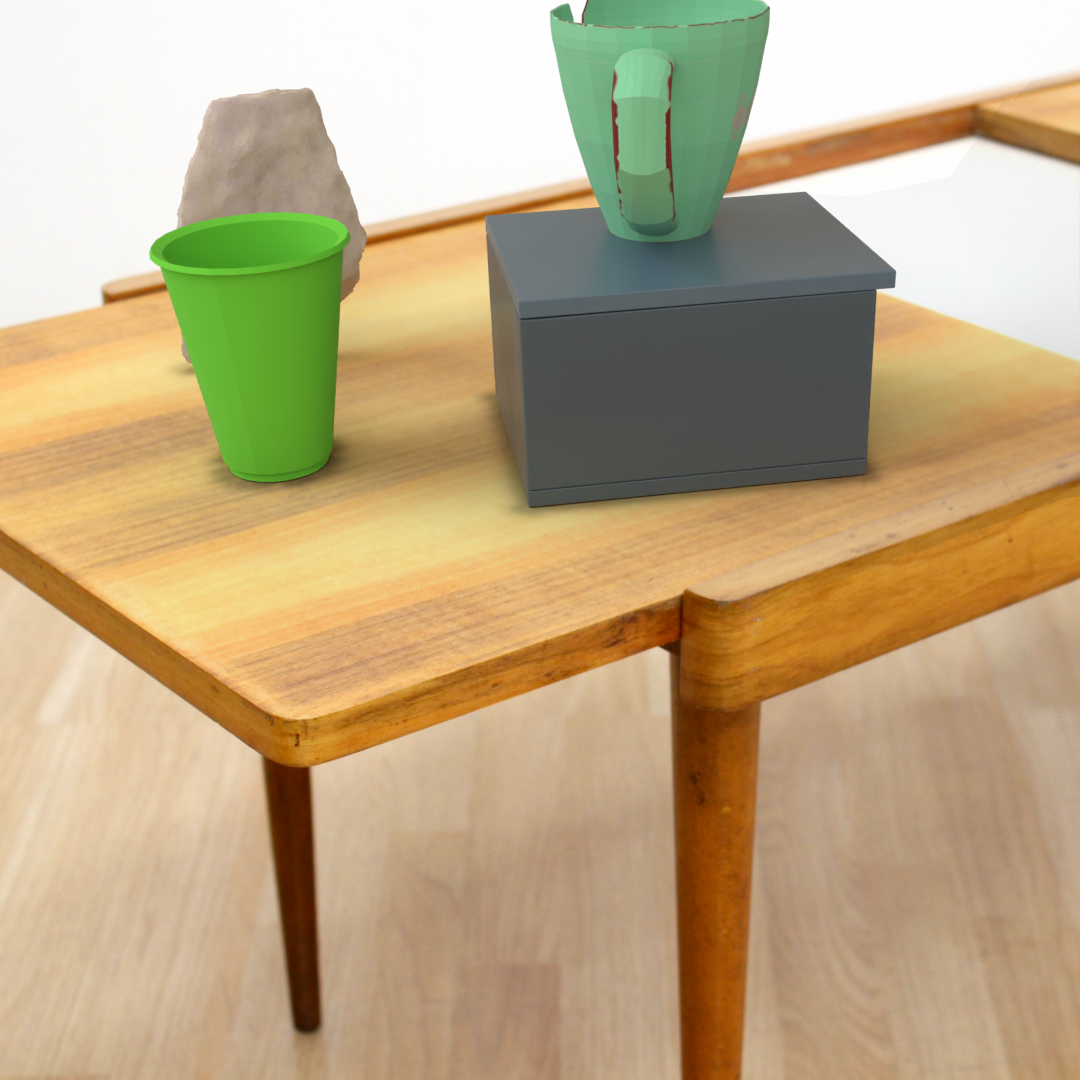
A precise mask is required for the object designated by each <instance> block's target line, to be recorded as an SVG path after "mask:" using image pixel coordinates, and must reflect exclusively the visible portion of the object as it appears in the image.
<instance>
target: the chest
mask: <svg viewBox="0 0 1080 1080" xmlns="http://www.w3.org/2000/svg"><path fill="white" fill-rule="evenodd" d="M485 238H486V239H485V240H486V253H487V254H486V256H487V270H488V271H487V273H488V274H487V275H488V289H489V290H488V291H489V305H490V321H491V322H490V323H491V340H492V352H493V353H492V355H493V357H492V358H493V373H494V389H495V390H494V391H495V398H496V401H497V404H498V409H499V411H500V415H501V418H502V422H503V424H504V427H505V432H506V434H507V435H506V436H507V438H508V441H509V444H510V448H511V450H512V454H513V458H514V461H515V466H516V468H517V472H518V474H519V479H520V481H521V485H522V488H523V491H524V494H525V498H526V502H527V505H528V507H529V508H535V507H546V506H556V505H565V504H576V503H586V502H597V501H606V500H617V499H626V498H637V497H638V498H639V497H646V496H647V497H648V496H657V495H667V494H678V493H687V492H688V493H689V492H699V491H700V492H701V491H710V490H717V489H719V490H720V489H729V488H730V489H731V488H740V487H749V486H759V485H761V486H762V485H771V484H779V483H789V482H790V483H791V482H801V481H811V480H822V479H831V478H842V477H852V476H853V477H854V476H862V475H863V476H864V475H866V474H867V465H868V458H867V457H868V446H869V445H868V444H869V430H870V429H869V427H870V413H871V412H870V411H871V398H872V397H871V395H872V394H871V393H872V377H873V362H874V344H875V329H876V328H875V327H876V313H877V312H876V311H877V294H878V291H877V289H876V290H864V291H852V292H839V293H827V294H815V295H803V296H791V297H779V298H767V299H755V300H742V301H730V302H718V303H706V304H694V305H682V306H670V307H658V308H645V309H633V310H621V311H609V312H597V313H585V314H573V315H561V316H548V317H536V318H524V319H520V318H519V316H518V313H517V310H516V308H515V305H514V303H513V300H512V297H511V295H510V292H509V290H508V287H507V284H506V282H505V279H504V276H503V274H502V271H501V269H500V266H499V263H498V261H497V258H496V255H495V253H494V250H493V248H492V245H491V242H490V240H489V237H488V235H487V232H486V233H485Z"/></svg>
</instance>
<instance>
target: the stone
mask: <svg viewBox="0 0 1080 1080" xmlns="http://www.w3.org/2000/svg"><path fill="white" fill-rule="evenodd" d="M327 132H328V131H327V128H326V126H325V123H324V119H323V114H322V109H321V106H320V104H319V102H318V100H317V98H316V95H315V92H314V91H313V90H312V89H311V88H309V87H301V88H298V89H294V88H292V89H291V88H289V89H279V88H271V89H266V90H263V91H260V92H255V93H254V92H253V93H241V94H237V95H233V96H227V97H219V98H216V99H212V100H211V101H210V103H208V106H207V107H206V111H205V112H204V115H203V118H202V126H201V128H200V131H199V133H198V134H197V146H196V148H195V151H194V153H193V155H192V156H191V158H190V160H189V162H188V165H187V170H186V172H185V175H184V184H183V185H182V193H181V199H180V204H179V206H178V208H177V212H176V216H177V226H176V229H178V228H180V227H183V226H187V225H190V224H193V223H197V222H201V221H206V220H210V219H215V218H220V217H227V216H234V215H241V214H254V213H278V212H288V213H305V214H312V215H318V216H324V217H327V218H331V219H334V220H337V221H338V222H340V223H342V224H343V225H345V227H346V228H347V230H348V232H349V234H350V235H351V238H350V241H349V244H347V245H346V246H345V247H344V248H343V265H342V284H341V303H342V302H343V301H344V300H345V299H346V298H347V297H349V296H350V295H351V294H352V293H353V292H354V288H356V286H357V284H358V283H359V281H360V277H361V276H360V275H361V272H360V262H361V260H362V258H363V253H365V248H366V245H367V241H368V235H367V234H368V233H367V231H366V230H365V228H364V227H363V226H362V224H361V222H360V218H359V217H360V216H359V213H358V212H359V211H358V209H357V205H356V203H355V200H354V197H353V195H352V191H351V187H350V185H349V183H348V181H347V178H346V176H345V175H344V172H343V170H341V168H340V164H339V162H338V155H337V150H336V147H335V145H334V143H333V142H332V140H331V139H330V136H329V135H328V133H327ZM180 334H181V345H180V349H181V355H182V357H183V358H184V359H185V361H186V362H187V363H189V364H192V363H191V360H190V357H189V354H188V350H187V347H186V344H185V341H184V338H183V335H182V332H181V331H180Z"/></svg>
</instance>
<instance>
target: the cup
mask: <svg viewBox="0 0 1080 1080" xmlns="http://www.w3.org/2000/svg"><path fill="white" fill-rule="evenodd" d="M350 238H351V235H350V234H349V232H348V230H347V228H346V227H345V225H343V224H342V223H340V222H338V221H337V220H334V219H331V218H327V217H324V216H318V215H312V214H305V213H288V212H278V213H254V214H241V215H234V216H227V217H220V218H215V219H210V220H206V221H201V222H197V223H193V224H190V225H187V226H183V227H180V228H178V229H177V228H176V229H173V230H171V231H169V232H166V233H164V234H163V235H161V236H160V237H159V238H157V239H155V240H154V241H153V243H152V245H151V246H150V248H149V252H148V254H149V260H150V261H151V262H152V263H153V264H155V265H156V266H157V267H160V271H161V273H162V276H163V277H162V278H163V280H164V283H165V286H166V290H167V292H168V295H169V298H170V301H171V305H172V309H173V311H174V314H175V317H176V319H177V323H178V326H179V329H180V333H181V332H182V334H181V336H182V335H183V338H184V341H185V344H186V347H187V350H188V354H189V357H190V360H191V363H190V364H191V367H192V369H193V372H194V375H195V378H196V381H197V384H198V387H199V390H200V393H201V397H202V399H203V402H204V406H205V408H206V411H207V414H208V417H209V421H210V424H211V427H212V430H213V433H214V437H215V440H216V442H217V445H218V448H219V451H220V454H221V457H222V461H223V463H224V464H225V465H226V466H227V467H228V469H229V471H230V472H231V473H232V475H234V476H235V477H237V478H240V479H243V480H245V481H249V482H259V483H275V482H285V481H291V480H296V479H299V478H303V477H306V476H309V475H311V474H313V473H315V472H317V471H319V470H321V468H323V467H325V466H326V464H327V463H328V462H329V460H330V455H331V453H332V452H333V447H334V434H335V432H334V431H335V415H336V414H335V413H336V396H337V395H336V393H337V377H338V376H337V375H338V356H339V338H340V337H339V336H340V319H341V303H342V302H341V284H342V265H343V248H344V247H345V246H346V245H347V244H349V241H350Z"/></svg>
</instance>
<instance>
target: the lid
mask: <svg viewBox="0 0 1080 1080" xmlns="http://www.w3.org/2000/svg"><path fill="white" fill-rule="evenodd" d="M484 221H485V223H484V224H485V232H486V233H487V235H488V237H489V240H490V242H491V245H492V248H493V250H494V253H495V255H496V258H497V261H498V263H499V266H500V269H501V271H502V274H503V276H504V279H505V282H506V284H507V287H508V290H509V292H510V295H511V297H512V300H513V303H514V305H515V308H516V310H517V313H518V316H519V318H520V319H524V318H536V317H548V316H561V315H573V314H585V313H597V312H609V311H621V310H633V309H645V308H658V307H670V306H682V305H694V304H706V303H718V302H730V301H742V300H755V299H767V298H779V297H791V296H803V295H815V294H827V293H839V292H852V291H864V290H876V291H877V290H885V289H886V290H887V289H895V288H896V282H897V281H896V279H897V270H896V269H895V268H894V267H892V266H891V264H889V263H888V262H887V261H886V260H885V259H883V257H881V256H880V255H879V254H878V253H877V252H875V251H874V250H873V249H872V248H871V247H870V246H869V245H868V244H866V242H864V241H863V240H862V239H861V238H860V237H858V236H857V235H856V234H855V233H854V232H853V231H852V230H851V229H849V228H848V227H847V226H846V225H845V224H843V223H842V222H841V221H840V220H839V219H838V218H837V217H836V216H834V215H833V214H832V213H831V212H830V211H829V210H828V209H826V208H825V207H824V206H823V205H822V204H820V202H819V201H817V200H816V199H815V198H814V197H813V196H811V194H809V193H808V192H807V191H795V192H782V193H769V194H755V195H741V196H727V197H723V198H722V200H721V203H720V205H719V208H718V210H717V213H716V215H715V217H714V220H713V222H712V225H711V227H710V229H709V230H708V232H707V233H705V234H703V235H701V236H698V237H695V238H691V239H688V240H681V241H674V242H639V241H633V240H627V239H623V238H620V237H617V236H615V235H614V234H612V233H611V232H610V231H609V228H608V226H607V223H606V221H605V219H604V216H603V214H602V211H601V209H600V206H597V207H596V206H595V207H582V208H580V207H579V208H569V209H556V210H543V211H530V212H529V211H528V212H515V213H502V214H489V215H485V216H484Z"/></svg>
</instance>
